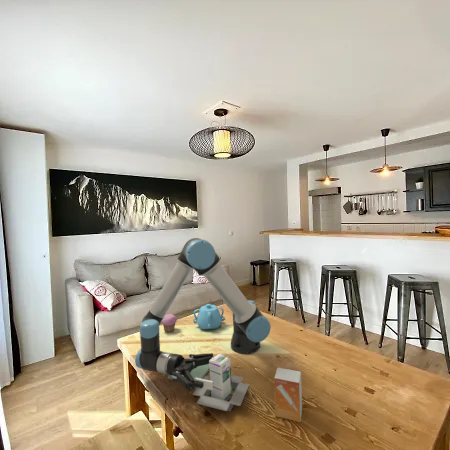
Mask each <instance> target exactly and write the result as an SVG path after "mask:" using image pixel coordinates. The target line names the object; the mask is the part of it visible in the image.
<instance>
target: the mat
mask: <svg viewBox="0 0 450 450" xmlns="http://www.w3.org/2000/svg"><path fill="white" fill-rule="evenodd" d="M193 363H194V362H193ZM208 372H210V367H209V364H206V365H202V366H198V367H197V368H195V369H193V370H192V371H191V372H190V374H191V375H192V377H193V378H194V380H195V378H201V379H204V378H205V376H207V374H208ZM182 376H183V375H182ZM183 377H184V376H183ZM167 380H170V381H174V380H173V379H172V376H171V375H169V374H168V375H167Z"/></svg>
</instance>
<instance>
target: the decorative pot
mask: <svg viewBox="0 0 450 450" xmlns="http://www.w3.org/2000/svg"><path fill="white" fill-rule="evenodd" d="M219 310H221V313H220V311H219ZM197 312H198V313H197ZM224 312H225V311H224V308H223V307H221V306H218V307H217V305H215V304H211V303H207V304H205V305H202V306H200V308H197V309H195V310H194V311H193V316H194V319H193V324H197V326H198V327H199V328H200V329H201V330H202V329H203V331H206V330H216V329H215V328H217V329H218V328H219V327H220V325H221V324H222V322H224V321H225V319H226V317H225V316H224ZM196 313H197V316H196ZM205 329H206V330H205Z"/></svg>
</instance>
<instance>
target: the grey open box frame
mask: <svg viewBox="0 0 450 450" xmlns="http://www.w3.org/2000/svg"><path fill="white" fill-rule="evenodd" d="M231 378H232V391H233V393H232V394H233V395H232V396H231V397H230V398H229V401H228V400H227V401H225V400H221V399H216V398H212V397H211V396H210V395H211V390H209V389H204V388H197V387H195V389H194V390H193V391H194V392H193V393H192V395H193V396H197V397H199V398H198V400H197V402H196V405H201V406H204V407H208V408H213V409H216V410H221V411H224V412H230V413H231V411H232V410H233V408H234V406H238V407H241V406H242V403H243V401H244V398H245V397H246V393H247V392H248V389H249V386H250V384H248V383H243V382H242V381H243V379H244V377H243V376H240V375H234V374H231ZM203 379H205V380H210V375H205V377H204V378H203Z"/></svg>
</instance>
